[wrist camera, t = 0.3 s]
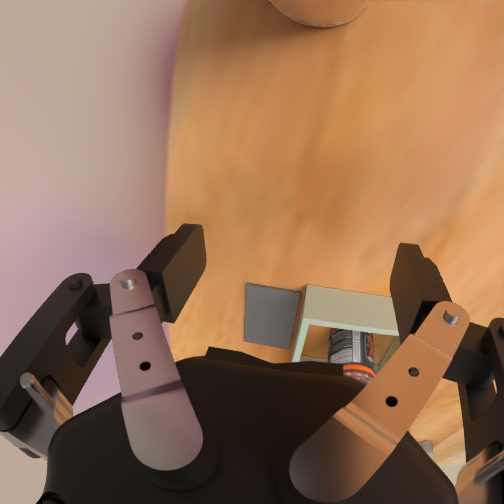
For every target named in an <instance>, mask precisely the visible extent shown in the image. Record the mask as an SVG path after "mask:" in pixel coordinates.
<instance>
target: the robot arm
mask: <svg viewBox="0 0 504 504" xmlns="http://www.w3.org/2000/svg"><path fill="white" fill-rule="evenodd" d="M269 1H270V2H271V3H272V4H273V5H274V7H275V8H276V9H277V10H278V11H280V12H281V13H282V14H283V15H284V16H286V17H288V18H289V19H291V20H293V21H295V22H298V23H300V24H303V25H307V26H312V27H323V28H328V27H335V26H340V25H343V24H346V23H348V22H350V21H352V20H353V19H355V18H357V17H358V16H359V15H360V14H361V13H362V12H363V11H364V10H365V8H366V7H367V6H368V5H369V4H370V2H371V1H372V0H269ZM205 266H206V250H205V242H204V233H203V227H202V225H200V224H185V223H184V224H182V225H181V227H180V228H179V229H178V230H177V231H176V232H175V233H174V234H170V235H169V236H167V237H165V238H163V239H162V240H161V241H160V242H159V243H158V244H157V245H156V248H154V249H153V250H152V251H151V253H149V254H148V256H147V257H146V258H145V259H144V260H143V261H142V263H141V264H140V265H139V266H138V267H137V269H129V270H125V271H122V272H120V273H118V274H116V275H115V276H114V277H113V278H112V279H111V281H110V283H108V284H95V285H94V283H93V281H92V278H91V276H90V275H89V274H86V273H78V274H74V275H71V276H69V277H68V278H66V279H65V280H64V281H63V282H62V283H61V284H60V285H59V286H58V287H57V288H56V289H55V291H54V292H53V293H52V294H51V295H50V296H49V297H48V299H47V300H46V301H45V302H44V303H43V304H42V306H41V307H40V308H39V309H38V310H37V311H36V313H35V314H34V315H33V316H32V317H31V319H30V320H29V321H28V322H27V324H26V325H25V326H24V327H23V329H22V330H21V331H20V332H19V334H18V335H17V336H16V337H15V339H14V340H13V341H12V343H11V344H10V345H9V346H8V348H7V349H6V351H5V352H4V353H3V354H2V356H1V357H0V434H1V435H2V436H4V437H5V438H6V439H7V440H8V441H9V442H10V443H12V444H13V445H14V446H16V447H18V448H19V449H20V450H22V451H23V452H24V453H25V454H27V455H28V456H30V457H32V458H44V459H45V460H47V477H46V483H45V487H44V491H43V494H42V496H41V498H40V499H39V501H38V502H37V503H36V504H504V318H495V319H493V320H492V321H491V322H490V324H489V326H488V328H487V327H484V326H481V325H477V324H474V323H471V322H470V318H469V315H468V313H467V312H466V310H465V309H464V308H462V307H461V306H460V305H458V304H456V303H453V302H452V300H451V298H450V295H449V293H448V291H447V288H446V286H445V284H444V282H443V279H442V277H441V276H440V272H439V270H438V268H437V266H436V265H435V264H434V263H433V262H432V261H431V260H430V259H429V258H424V256H423V254H422V252H421V250H420V247H419V245H417V244H408V243H400V244H399V246H398V250H397V254H396V258H395V262H394V266H393V270H392V273H391V278H390V292H391V297H392V302H393V307H394V312H395V317H396V322H397V327H398V333H399V339H400V345H401V346H400V347H399V348H398V350H397V351H396V352H395V353H394V354H393V356H392V357H391V358H390V359H389V360H388V362H387V363H386V364H385V365H384V366H383V367H382V369H381V370H380V371H379V372H378V373H377V374H376V375H375V377H374V378H373V379H372V380H371V381H370V382H369V383H368V384H367V385H366V384H364V383H363V382H361V381H359V380H357V379H356V378H353V377H351V376H349V375H345V374H343V364H341V363H329V362H318V361H302V362H291V363H278V364H275V363H270V362H267V361H264V360H262V359H259V358H256V357H253V356H251V355H248V354H245V353H243V352H239V351H233V350H227V349H221V348H215V347H210V346H209V348H208V350H207V352H206V355H205V356H196V357H191V358H186V359H183V360H180V361H177V362H174V359H173V356H172V353H171V351H170V348H169V345H168V342H167V339H166V336H165V333H164V330H163V327H162V322H163V321H165V322H170V323H175V321H176V319H177V317H178V316H179V314H180V312H181V310H182V309H183V307H184V305H185V303H186V302H187V300H188V298H189V296H190V295H191V293H192V291H193V289H194V288H195V286H196V284H197V282H198V281H199V279H200V277H201V276H202V274H203V272H204V270H205ZM74 322H75V324H76V326H77V328H78V330H77V332H76V333H75V335H74V336H73V337H72V339H71V340H70V342H69V343H68V345H66V342H65V337H66V333H67V332H68V330H69V329H70V327H71V326H72V324H73V323H74ZM111 338H112V341H113V348H114V354H115V361H116V366H117V372H118V377H119V383H120V388H121V392H120V393H118V394H116V395H114V396H112V397H111V398H109V399H107V400H105V401H103V402H101V403H99V404H97V405H95V406H93V407H91V408H89V409H87V410H85V411H83V412H81V413H79V414H77V415H75V416H73V408H72V406H73V404H74V402H75V400H76V399H77V397H78V395H79V393H80V391H81V390H82V388H83V386H84V384H85V383H86V381H87V379H88V377H89V375H90V374H91V372H92V370H93V369H94V367H95V365H96V364H97V361H98V360H99V358H100V357H101V355H102V353H103V352H104V350H105V348H106V347H107V345H108V343H109V342H110V340H111ZM441 378H444V379H447V380H451V381H454V382H457V384H458V390H459V396H460V403H461V410H462V418H463V427H464V437H465V450H466V464H465V465H464V466H463V467H462V468H461V470H460V471H459V473H458V476H457V482H456V485H455V487H454V485H453V484H452V482H451V481H450V480H449V478H448V477H447V476H446V475H445V474H444V472H443V471H442V470H441V469H440V468H439V467H438V465H437V464H436V463H435V462H434V461H433V460H432V458H431V457H430V456H429V455H428V454H427V453H426V451H425V450H424V449H423V448H422V447H421V446H420V444H419V443H418V442H417V441H416V440H415V439H414V437H413V436H412V435H411V434H410V433H409V432H408V429H409V428H410V426H411V425H412V424H413V422H414V421H415V419H416V418H417V416H418V415H419V413H420V412H421V410H422V409H423V407H424V406H425V404H426V403H427V401H428V400H429V398H430V397H431V395H432V393H433V392H434V390H435V389H436V387H437V385H438V384H439V382H440V380H441ZM494 379H495V383H496V387H497V393H496V392H495V388H494V384H493V380H494Z"/></svg>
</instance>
